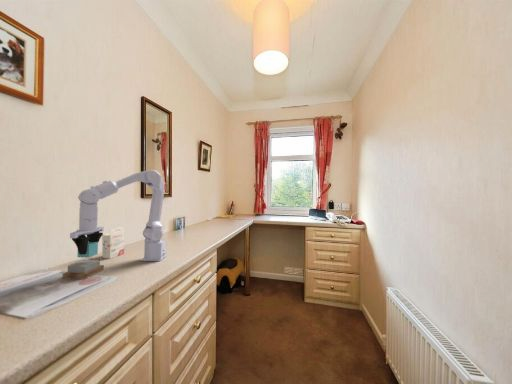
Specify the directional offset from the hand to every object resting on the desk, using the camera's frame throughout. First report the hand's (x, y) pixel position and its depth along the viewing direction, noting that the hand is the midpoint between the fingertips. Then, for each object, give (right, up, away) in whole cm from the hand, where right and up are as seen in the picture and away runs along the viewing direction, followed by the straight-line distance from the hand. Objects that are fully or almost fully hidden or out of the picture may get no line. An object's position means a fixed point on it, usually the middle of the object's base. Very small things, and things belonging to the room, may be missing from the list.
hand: (87, 252), depth 82 cm
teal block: (0, -1, 0) cm, 1 cm away
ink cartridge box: (-5, -9, +22) cm, 24 cm away
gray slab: (-1, -7, -1) cm, 7 cm away
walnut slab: (-1, -9, -1) cm, 9 cm away
